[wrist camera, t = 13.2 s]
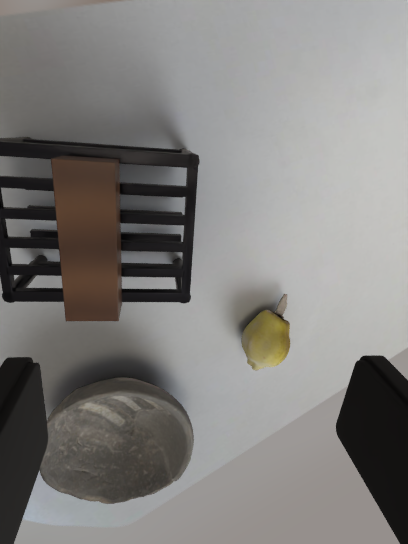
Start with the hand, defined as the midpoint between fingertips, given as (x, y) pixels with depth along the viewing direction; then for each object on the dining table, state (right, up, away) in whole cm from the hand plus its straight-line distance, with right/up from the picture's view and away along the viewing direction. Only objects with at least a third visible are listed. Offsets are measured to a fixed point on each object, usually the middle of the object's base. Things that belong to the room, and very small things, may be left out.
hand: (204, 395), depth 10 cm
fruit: (+8, -3, +34) cm, 35 cm away
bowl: (-11, -15, +36) cm, 41 cm away
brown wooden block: (-9, +7, +18) cm, 21 cm away
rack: (-10, +10, +26) cm, 30 cm away
